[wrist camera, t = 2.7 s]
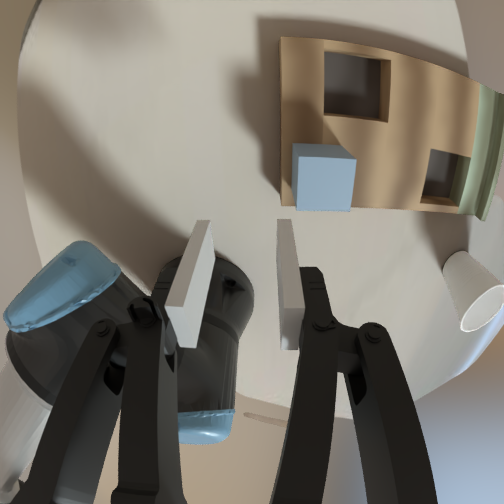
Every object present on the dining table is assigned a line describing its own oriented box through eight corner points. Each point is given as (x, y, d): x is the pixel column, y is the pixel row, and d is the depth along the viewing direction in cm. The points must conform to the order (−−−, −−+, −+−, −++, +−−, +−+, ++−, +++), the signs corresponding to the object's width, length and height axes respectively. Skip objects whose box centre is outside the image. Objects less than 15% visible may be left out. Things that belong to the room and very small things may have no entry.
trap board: (279, 194, 32) (282, 212, 28) (278, 40, 21) (281, 33, 18) (468, 205, 30) (485, 221, 27) (489, 91, 20) (510, 97, 16)
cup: (437, 246, 35) (471, 294, 26) (480, 235, 33) (516, 277, 24) (428, 291, 40) (452, 339, 31) (468, 279, 39) (495, 321, 30)
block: (291, 189, 28) (296, 210, 24) (292, 143, 25) (298, 156, 21) (337, 190, 28) (349, 211, 24) (341, 145, 25) (356, 159, 21)
